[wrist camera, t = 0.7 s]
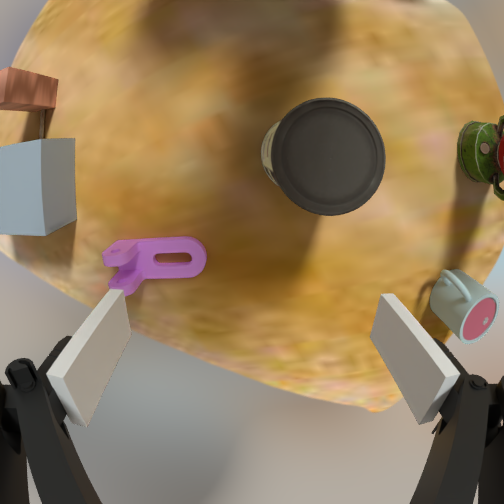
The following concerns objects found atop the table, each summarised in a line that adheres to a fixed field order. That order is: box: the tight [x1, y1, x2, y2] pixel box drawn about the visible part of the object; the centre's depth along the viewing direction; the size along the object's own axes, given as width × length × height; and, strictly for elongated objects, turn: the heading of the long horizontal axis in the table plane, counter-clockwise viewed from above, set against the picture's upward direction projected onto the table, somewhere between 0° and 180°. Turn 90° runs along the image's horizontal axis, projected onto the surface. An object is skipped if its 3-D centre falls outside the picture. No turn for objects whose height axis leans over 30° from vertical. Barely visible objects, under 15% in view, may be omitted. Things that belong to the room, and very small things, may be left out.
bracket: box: [102, 236, 207, 296], centre depth 38 cm, size 13×6×7 cm, turn 92°
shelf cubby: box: [0, 138, 77, 236], centre depth 32 cm, size 12×13×8 cm
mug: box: [430, 269, 499, 344], centre depth 39 cm, size 14×9×10 cm
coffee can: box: [261, 98, 385, 216], centre depth 30 cm, size 10×10×14 cm
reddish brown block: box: [0, 67, 58, 139], centre depth 28 cm, size 19×5×12 cm, turn 176°
